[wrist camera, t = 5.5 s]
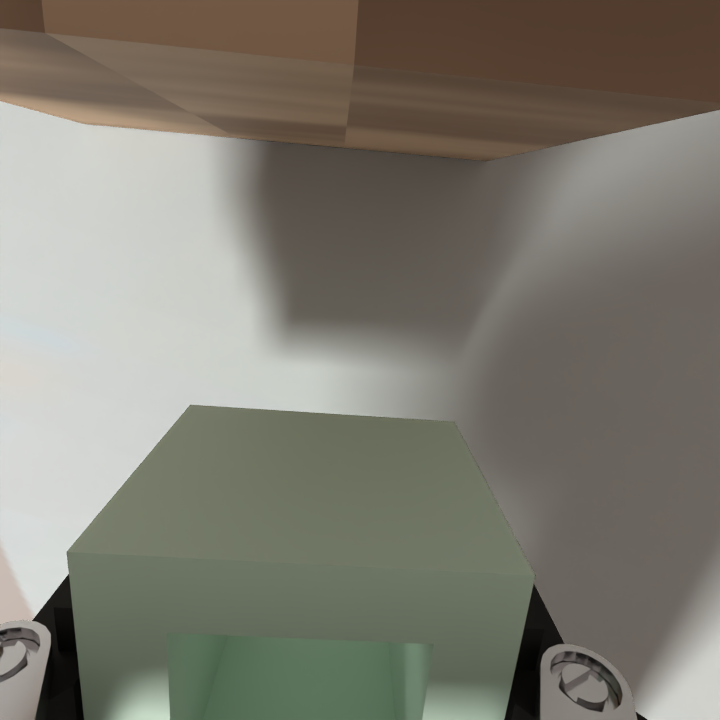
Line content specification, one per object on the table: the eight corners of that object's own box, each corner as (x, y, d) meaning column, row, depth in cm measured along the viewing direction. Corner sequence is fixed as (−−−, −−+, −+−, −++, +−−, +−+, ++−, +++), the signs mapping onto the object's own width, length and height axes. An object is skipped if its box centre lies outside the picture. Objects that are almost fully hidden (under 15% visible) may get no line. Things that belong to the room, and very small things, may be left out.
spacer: (424, 631, 13) (470, 878, 8) (194, 621, 13) (99, 869, 8) (454, 421, 11) (535, 575, 6) (190, 404, 11) (66, 552, 6)
